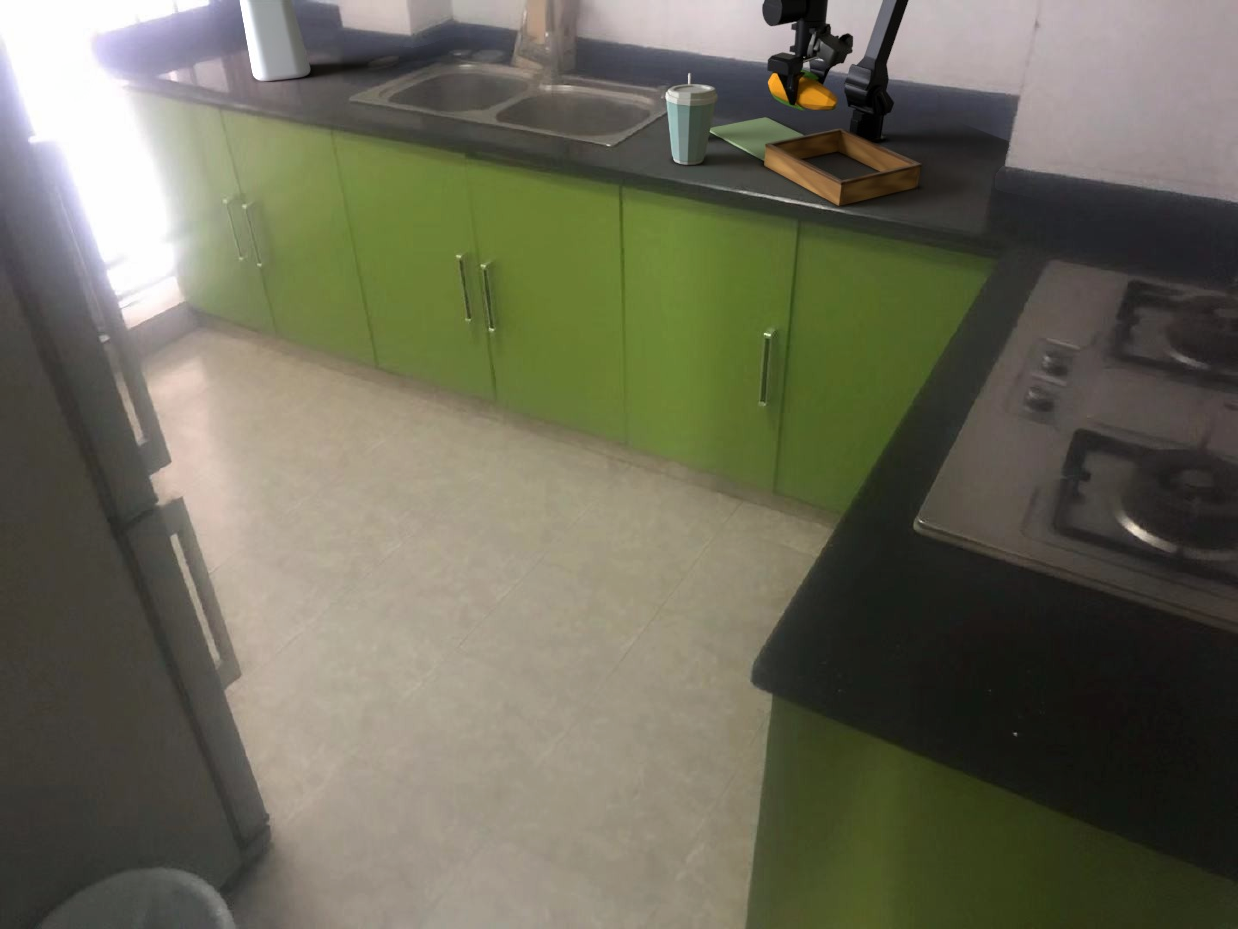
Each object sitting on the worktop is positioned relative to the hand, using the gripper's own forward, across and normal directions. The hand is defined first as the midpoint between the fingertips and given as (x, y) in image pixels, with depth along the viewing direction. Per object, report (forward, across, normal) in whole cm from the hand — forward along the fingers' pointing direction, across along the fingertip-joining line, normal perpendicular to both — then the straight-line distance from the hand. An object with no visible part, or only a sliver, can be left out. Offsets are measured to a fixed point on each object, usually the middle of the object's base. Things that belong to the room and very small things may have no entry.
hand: (804, 100), depth 194 cm
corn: (+2, 0, 0) cm, 2 cm away
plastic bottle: (+11, -45, +144) cm, 151 cm away
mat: (+11, +3, +12) cm, 17 cm away
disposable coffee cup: (+12, -18, +15) cm, 26 cm away
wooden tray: (+11, -4, -13) cm, 18 cm away
